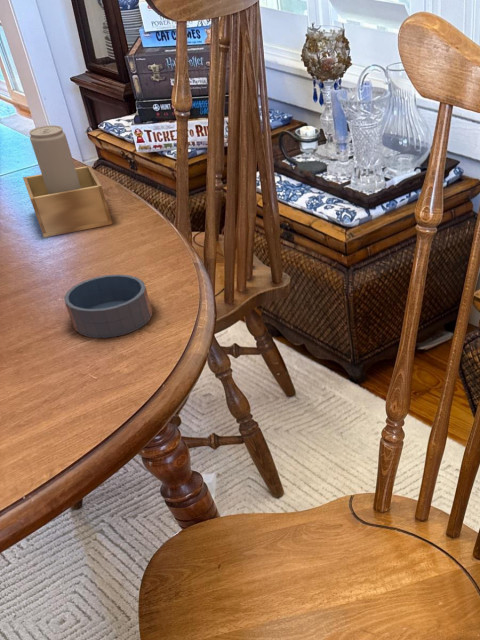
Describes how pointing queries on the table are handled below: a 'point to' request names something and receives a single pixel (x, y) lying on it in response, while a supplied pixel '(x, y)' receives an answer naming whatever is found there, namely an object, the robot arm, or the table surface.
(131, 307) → the dish
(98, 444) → the table surface
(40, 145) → the beverage can
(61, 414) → the table surface
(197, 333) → the table surface
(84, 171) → the box
